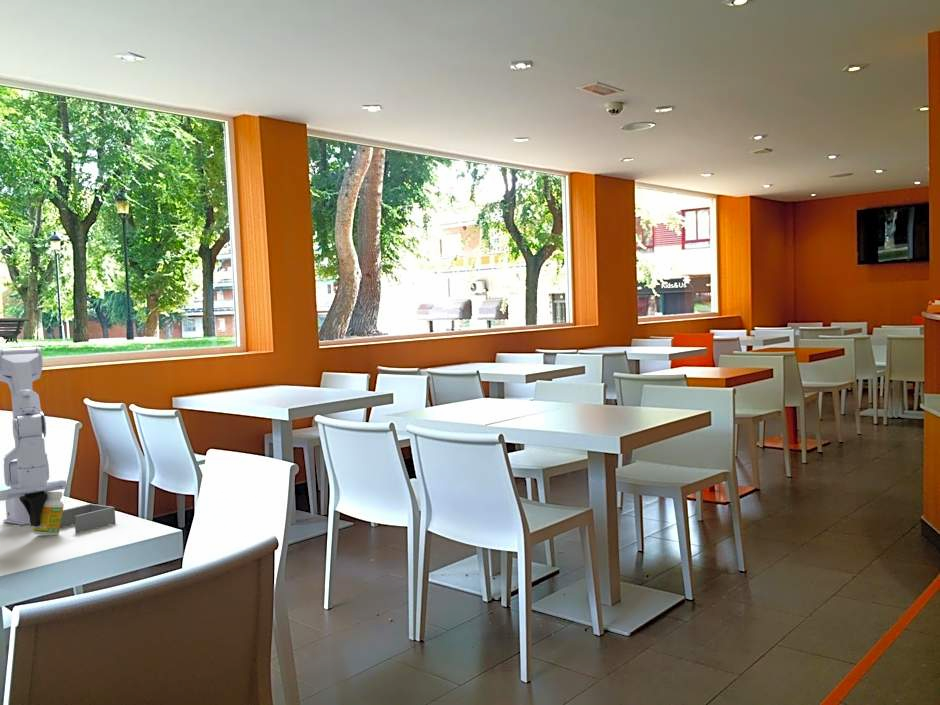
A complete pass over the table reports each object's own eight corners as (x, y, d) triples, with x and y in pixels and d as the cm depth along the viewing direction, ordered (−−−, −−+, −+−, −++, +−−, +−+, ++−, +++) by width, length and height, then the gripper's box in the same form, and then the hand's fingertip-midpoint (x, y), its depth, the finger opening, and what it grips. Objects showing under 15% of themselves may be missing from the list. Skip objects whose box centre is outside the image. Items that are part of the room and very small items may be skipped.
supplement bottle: (48, 536, 183) (55, 493, 184) (27, 533, 184) (34, 490, 185) (63, 534, 188) (70, 492, 190) (43, 531, 189) (50, 490, 191)
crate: (53, 528, 193) (52, 512, 193) (92, 519, 201) (91, 503, 201) (76, 533, 188) (75, 516, 187) (115, 523, 196) (114, 507, 196)
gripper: (8, 472, 175) (12, 534, 176) (72, 462, 188) (75, 520, 188) (-8, 471, 179) (-4, 531, 180) (55, 461, 191) (59, 518, 192)
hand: (35, 525), depth 184 cm, fingers closed, pressing on supplement bottle
